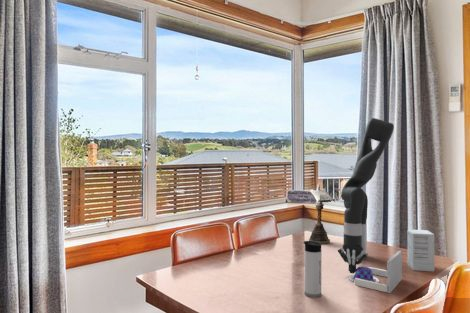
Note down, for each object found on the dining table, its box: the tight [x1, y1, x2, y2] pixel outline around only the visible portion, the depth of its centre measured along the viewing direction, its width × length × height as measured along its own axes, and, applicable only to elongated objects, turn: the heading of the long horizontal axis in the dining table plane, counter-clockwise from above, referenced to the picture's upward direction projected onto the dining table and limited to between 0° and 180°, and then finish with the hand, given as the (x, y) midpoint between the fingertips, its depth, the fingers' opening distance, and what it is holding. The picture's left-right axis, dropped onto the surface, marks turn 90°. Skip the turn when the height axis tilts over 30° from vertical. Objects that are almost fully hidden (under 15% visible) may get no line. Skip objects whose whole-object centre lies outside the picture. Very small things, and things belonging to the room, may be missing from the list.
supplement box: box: [406, 229, 435, 272], centre depth 164 cm, size 10×9×17 cm
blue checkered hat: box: [348, 266, 380, 283], centre depth 149 cm, size 12×12×5 cm
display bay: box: [354, 250, 403, 294], centre depth 146 cm, size 14×18×12 cm
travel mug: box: [303, 240, 322, 298], centre depth 134 cm, size 6×7×20 cm
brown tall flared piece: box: [308, 183, 336, 245], centre depth 209 cm, size 17×13×35 cm
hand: (352, 272), depth 153 cm, fingers closed
